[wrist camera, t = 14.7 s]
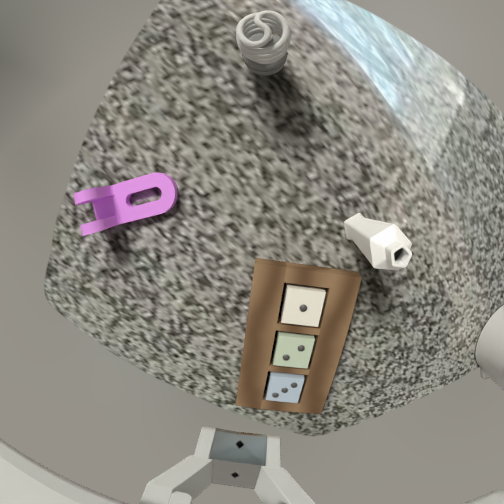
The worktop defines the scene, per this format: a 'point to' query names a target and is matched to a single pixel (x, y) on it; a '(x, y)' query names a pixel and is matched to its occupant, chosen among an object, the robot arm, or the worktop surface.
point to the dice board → (267, 322)
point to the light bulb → (263, 41)
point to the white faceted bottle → (379, 242)
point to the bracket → (126, 201)
